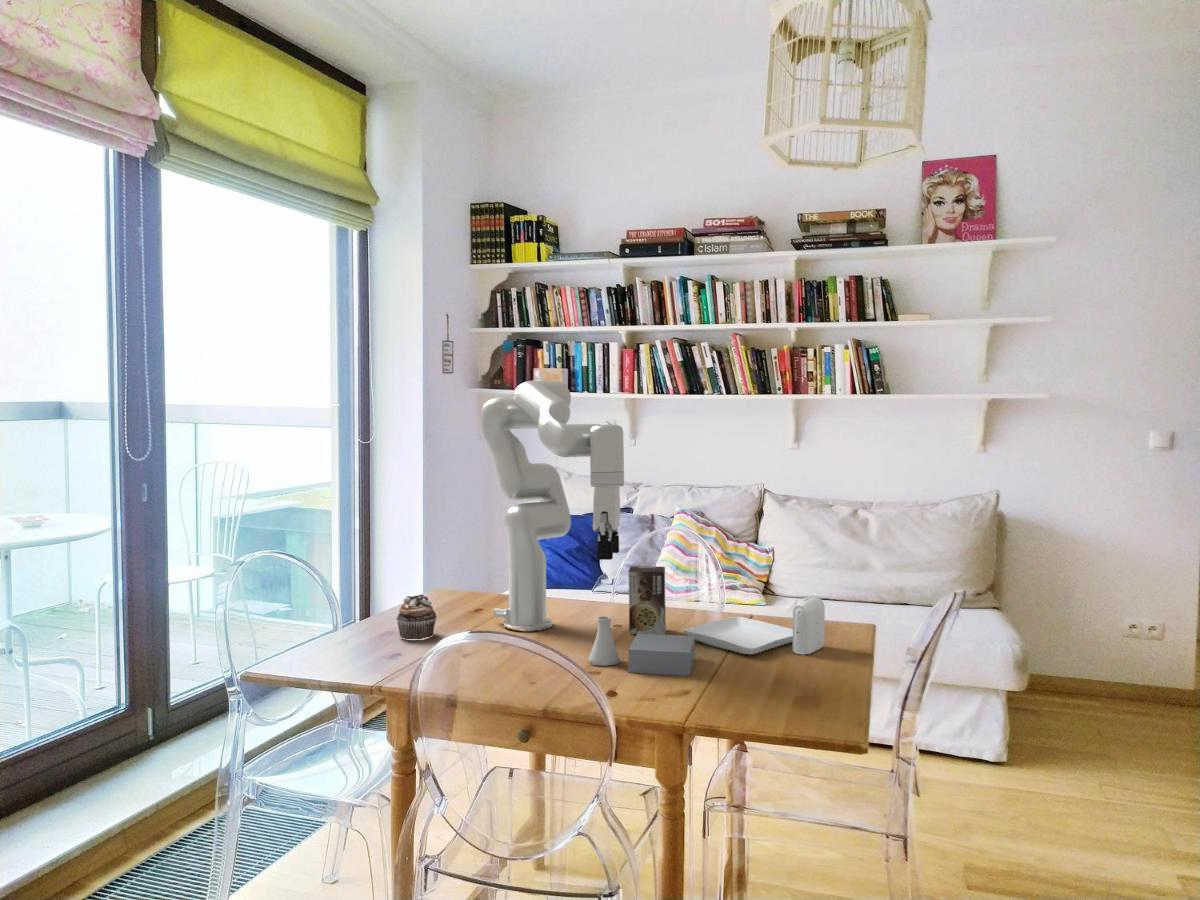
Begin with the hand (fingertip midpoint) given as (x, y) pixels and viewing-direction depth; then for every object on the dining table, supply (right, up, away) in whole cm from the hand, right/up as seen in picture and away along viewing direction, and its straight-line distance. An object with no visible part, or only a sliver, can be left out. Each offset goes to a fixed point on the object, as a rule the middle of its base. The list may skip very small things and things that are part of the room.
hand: (608, 555), depth 199 cm
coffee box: (+10, -22, +24) cm, 34 cm away
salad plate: (+32, -23, +14) cm, 42 cm away
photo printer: (+46, -23, +7) cm, 52 cm away
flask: (-1, -24, -2) cm, 24 cm away
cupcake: (-47, -22, +19) cm, 55 cm away
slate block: (+12, -23, -4) cm, 27 cm away
